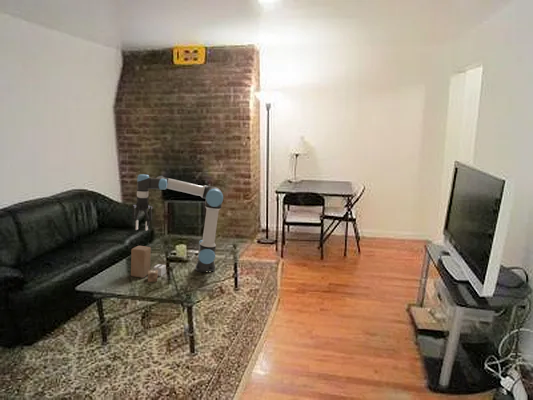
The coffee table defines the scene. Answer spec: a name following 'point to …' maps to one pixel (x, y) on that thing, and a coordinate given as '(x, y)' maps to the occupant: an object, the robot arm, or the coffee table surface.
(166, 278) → the coffee table surface
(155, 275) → the marked walnut cube
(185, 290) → the coffee table surface
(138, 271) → the block
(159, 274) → the striped grey block
